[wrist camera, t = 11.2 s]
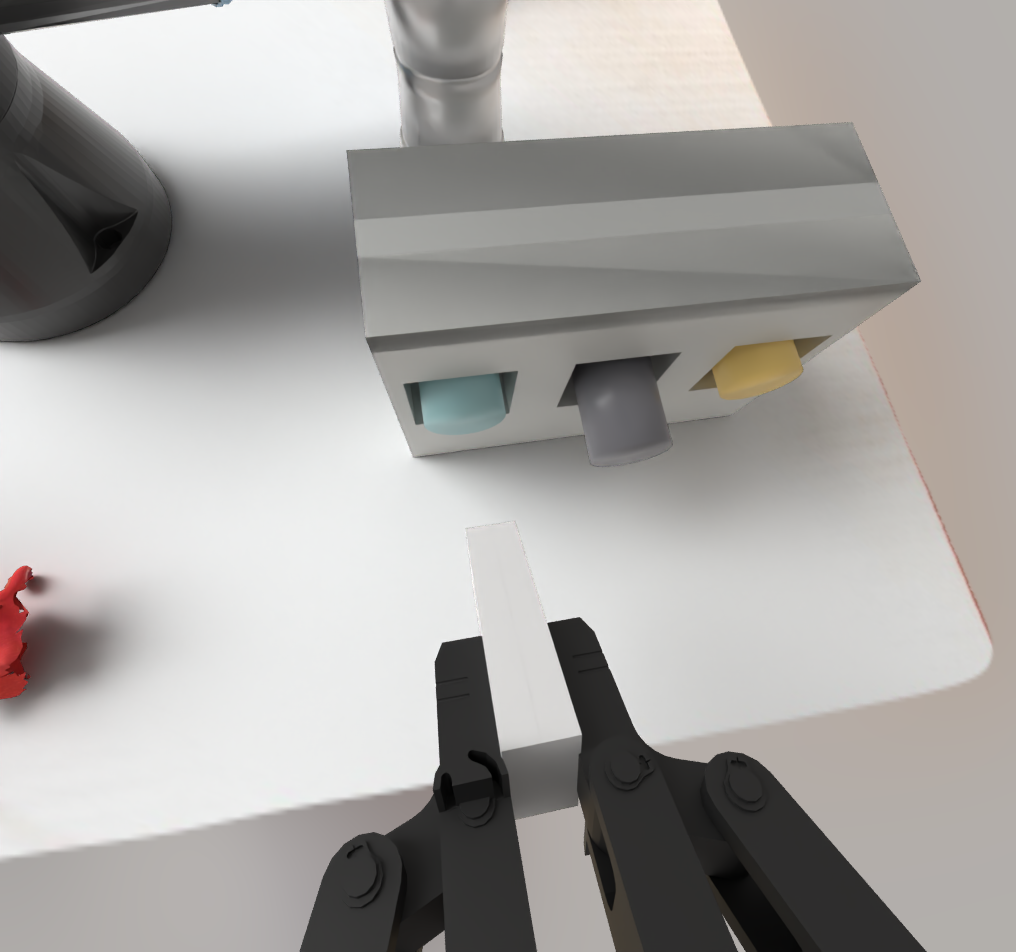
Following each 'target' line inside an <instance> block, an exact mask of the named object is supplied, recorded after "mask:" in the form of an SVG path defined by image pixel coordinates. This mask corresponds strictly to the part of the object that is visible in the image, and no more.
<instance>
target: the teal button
mask: <svg viewBox="0 0 1016 952" xmlns="http://www.w3.org/2000/svg"><path fill="white" fill-rule="evenodd" d="M419 390H420V398H421V406H422V413H423V421H424V426H425V428H426V429H427V430H429V431H431V432H433V433H437V434H443V435H463V434H470V433H475V432H480V431H483V430H486V429H489V428H491V427H493V426H495V425H497V424H499V423H500V422H501V421H502V420H503V419H504V418H505V416H506V411H505V406H504V400H503V394H502V388H501V383H500V377H499V373H494V374H485V375H476V376H467V377H458V378H449V379H441V380H432V381H423V382H419Z"/></svg>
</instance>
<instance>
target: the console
mask: <svg viewBox="0 0 1016 952" xmlns="http://www.w3.org/2000/svg"><path fill="white" fill-rule="evenodd" d="M347 159H348V169H349V178H350V188H351V198H352V208H353V218H354V228H355V238H356V248H357V258H358V268H359V278H360V288H361V298H362V308H363V318H364V328H365V338H366V340H367V343H368V345H369V348H370V350H371V353H372V355H373V358H374V360H375V363H376V365H377V368H378V370H379V373H380V375H381V378H382V380H383V383H384V385H385V388H386V390H387V393H388V395H389V398H390V400H391V403H392V405H393V408H394V410H395V413H396V415H397V418H398V420H399V423H400V425H401V428H402V430H403V433H404V435H405V438H406V440H407V443H408V446H409V448H410V451H411V453H412V456H413V457H418V456H426V455H433V454H441V453H449V452H456V451H464V450H471V449H479V448H487V447H494V446H502V445H509V444H517V443H525V442H532V441H540V440H547V439H555V438H563V437H570V436H578V435H584V431H583V426H582V421H581V417H580V412H579V407H578V403H577V398H576V393H575V389H574V384H573V379H572V375H571V374H572V372H573V370H574V368H575V365H576V364H582V363H591V362H599V361H608V360H617V359H626V358H635V357H644V356H650V359H651V363H652V367H653V370H654V374H655V378H656V382H657V386H658V390H659V393H660V397H661V401H662V405H663V409H664V413H665V416H666V420H667V424H669V423H677V422H684V421H692V420H700V419H707V418H715V417H722V416H730V415H732V414H734V413H735V412H737V411H738V410H740V409H741V408H742V407H744V406H745V405H747V404H748V403H749V402H751V401H752V400H754V399H755V398H757V397H758V396H759V395H757V396H753V397H749V398H744V399H737V400H725V399H722V398H721V397H720V396H719V392H718V389H717V385H716V382H715V378H714V375H713V372H712V368H713V367H714V366H715V365H716V364H717V363H718V362H719V361H720V360H721V359H722V358H723V357H724V356H725V355H726V354H727V353H728V352H730V351H731V350H732V349H733V348H734V347H735V346H741V345H750V344H758V343H767V342H776V341H785V340H793V341H794V343H795V346H796V349H797V352H798V355H799V358H800V361H801V364H802V365H803V364H805V363H806V362H808V361H809V360H810V359H812V358H813V357H815V356H816V355H817V354H819V353H820V352H822V351H823V350H825V349H826V348H827V347H829V346H830V345H832V344H833V343H834V342H836V341H837V340H839V339H840V338H842V337H843V336H844V335H846V334H847V333H849V332H850V331H851V330H853V329H854V328H856V327H857V326H859V325H860V324H861V323H863V322H864V321H866V320H867V319H868V318H870V317H871V316H873V315H874V314H875V313H877V312H878V311H880V310H881V309H883V308H884V307H885V306H887V305H888V304H890V303H891V302H893V301H894V300H895V299H897V298H898V297H900V296H901V295H902V294H904V293H905V292H907V291H908V290H909V289H911V288H912V287H914V286H915V285H917V284H918V283H919V282H921V280H920V278H919V275H918V273H917V271H916V268H915V266H914V264H913V262H912V259H911V257H910V254H909V252H908V250H907V248H906V245H905V243H904V241H903V238H902V236H901V234H900V232H899V229H898V227H897V225H896V222H895V220H894V217H893V215H892V213H891V211H890V208H889V206H888V204H887V201H886V199H885V197H884V195H883V192H882V190H881V187H880V185H879V183H878V180H877V178H876V176H875V173H874V171H873V169H872V167H871V164H870V162H869V160H868V157H867V155H866V153H865V150H864V148H863V146H862V144H861V141H860V139H859V136H858V134H857V132H856V130H855V127H854V125H853V123H852V122H849V123H848V122H847V123H829V124H812V125H795V126H776V127H758V128H740V129H722V130H704V131H686V132H668V133H650V134H632V135H614V136H596V137H578V138H560V139H542V140H524V141H506V142H488V143H470V144H452V145H434V146H417V147H399V148H381V149H363V150H347ZM494 373H499V377H500V383H501V388H502V394H503V400H504V406H505V411H506V416H505V418H504V419H503V420H502V421H501V422H500V423H499V424H497V425H495V426H493V427H491V428H489V429H486V430H483V431H480V432H475V433H470V434H463V435H443V434H437V433H433V432H431V431H429V430H427V429H426V428H425V426H424V421H423V413H422V406H421V398H420V390H419V382H423V381H432V380H441V379H449V378H458V377H467V376H476V375H485V374H494Z"/></svg>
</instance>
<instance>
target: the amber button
mask: <svg viewBox="0 0 1016 952" xmlns="http://www.w3.org/2000/svg"><path fill="white" fill-rule="evenodd" d="M712 372H713V375H714V378H715V382H716V385H717V389H718V392H719V396H720V397H721V398H722V399H725V400H737V399H744V398H749V397H753V396H757V395H761V394H764V393H767V392H770V391H772V390H775V389H777V388H780V387H782V386H784V385H786V384H788V383H790V382H791V381H793V380H795V379H796V378H797V377H799V376H800V375H801V374H802V372H803V367H802V364H801V361H800V358H799V355H798V352H797V349H796V346H795V343H794V341H793V340H785V341H776V342H767V343H758V344H750V345H741V346H735V347H734V348H733V349H732V350H731V351H730V352H728V353H727V354H726V355H725V356H724V357H723V358H722V359H721V360H720V361H719V362H718V363H717V364H716V365H715V366H714V367H713V368H712Z"/></svg>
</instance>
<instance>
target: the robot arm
mask: <svg viewBox="0 0 1016 952" xmlns="http://www.w3.org/2000/svg"><path fill="white" fill-rule="evenodd" d="M231 1H232V0H0V341H31V340H40V339H46V338H51V337H56V336H60V335H64V334H68V333H71V332H74V331H77V330H79V329H82V328H84V327H87V326H89V325H91V324H94V323H96V322H98V321H100V320H101V319H103V318H105V317H107V316H109V315H110V314H112V313H113V312H115V311H117V310H118V309H119V308H121V307H122V306H124V305H125V304H126V303H127V302H129V301H130V300H131V299H132V298H133V297H134V296H135V295H136V294H138V293H139V292H140V291H141V289H142V288H143V287H144V286H145V285H146V284H147V283H148V282H149V280H150V279H151V278H152V276H153V275H154V273H155V272H156V271H157V269H158V267H159V265H160V264H161V262H162V260H163V258H164V255H165V253H166V250H167V247H168V244H169V240H170V235H171V227H172V217H171V209H170V204H169V201H168V197H167V195H166V192H165V190H164V188H163V186H162V185H161V183H160V181H159V180H158V178H157V177H156V176H155V174H154V173H153V172H152V170H151V169H150V168H149V166H148V165H147V164H146V162H145V161H144V160H143V158H142V157H141V156H140V154H139V153H138V152H137V150H136V149H135V148H134V147H133V146H132V145H131V144H130V143H129V141H128V140H127V139H126V138H125V137H124V136H123V135H121V134H120V133H119V132H118V131H117V130H116V129H114V128H113V127H112V126H111V125H109V124H108V123H107V122H106V121H104V120H103V119H102V118H101V117H99V116H98V115H97V114H96V113H94V112H93V111H92V110H91V109H89V108H88V107H87V106H85V105H84V104H83V103H82V102H80V101H79V100H78V99H77V98H75V97H74V96H73V95H72V94H70V93H69V92H68V91H67V90H65V89H64V88H63V87H62V86H60V85H59V84H58V83H57V82H55V81H54V80H53V79H51V78H50V77H49V76H48V75H46V74H45V73H44V72H43V71H41V70H40V69H39V68H38V67H36V66H35V65H34V64H33V63H31V62H30V61H29V60H28V59H26V58H25V57H24V56H23V55H21V54H20V53H19V52H18V51H17V50H16V49H15V48H14V47H13V46H12V44H11V43H10V42H9V41H8V40H7V39H6V37H5V36H4V35H3V34H10V33H16V32H23V31H30V30H37V29H44V28H50V27H57V26H64V25H71V24H78V23H84V22H91V21H98V20H105V19H112V18H119V17H125V16H132V15H139V14H146V13H153V12H160V11H166V10H173V9H180V8H187V7H194V6H201V5H207V4H212V5H213V6H215V7H222V6H223V4H229V3H230V2H231ZM465 529H466V536H467V544H468V552H469V560H470V568H471V576H472V583H473V591H474V598H475V605H476V611H477V618H478V624H479V630H480V636H478V637H472V638H466V639H461V640H455V641H450V642H444V643H442V645H441V647H440V650H439V652H438V655H437V658H436V660H435V678H436V698H437V718H438V737H439V757H440V766H439V768H438V769H437V771H436V773H435V778H434V785H433V792H434V794H433V796H432V798H431V800H430V801H429V803H428V804H427V805H426V806H425V807H424V809H423V810H422V811H421V812H419V813H418V814H417V815H416V816H414V817H413V818H412V819H410V820H409V821H407V822H406V823H404V824H402V825H401V826H399V827H398V828H396V829H394V830H393V831H391V832H389V833H388V834H386V835H385V836H384V835H381V834H378V833H375V832H373V833H367V834H362V835H358V836H357V837H355V838H353V839H352V840H350V841H348V842H347V843H345V844H344V845H343V846H342V847H341V848H340V850H339V851H338V852H337V853H336V854H335V855H334V857H333V858H332V859H331V861H330V863H329V866H328V868H327V870H326V872H325V874H324V876H323V879H322V882H321V885H320V888H319V891H318V895H317V898H316V901H315V904H314V908H313V911H312V914H311V917H310V920H309V924H308V926H307V930H306V933H305V936H304V939H303V942H302V945H301V949H300V952H422V949H423V946H424V945H425V944H426V943H428V942H429V941H431V940H432V939H433V938H434V937H436V936H437V935H439V934H440V933H441V932H443V931H444V930H445V945H446V952H537V950H536V943H535V938H534V932H533V926H532V920H531V914H530V908H529V902H528V896H527V890H526V884H525V878H524V872H523V866H522V860H521V854H520V849H519V842H518V836H517V830H516V825H515V820H516V819H521V818H526V817H530V816H534V815H539V814H543V813H547V812H552V811H556V810H560V809H565V808H569V807H574V806H578V797H579V800H580V803H581V807H582V811H583V814H584V818H585V832H584V850H585V855H590V856H591V859H592V863H593V867H594V871H595V874H596V878H597V882H598V886H599V889H600V893H601V896H602V900H603V904H604V908H605V912H606V915H607V919H608V923H609V927H610V931H611V934H612V938H613V942H614V946H615V949H616V952H738V951H737V948H736V946H735V944H734V941H733V939H732V937H731V934H730V932H729V930H728V927H727V925H726V923H725V920H724V918H725V919H726V921H727V923H728V924H729V926H730V927H731V929H732V931H733V932H734V934H735V935H736V937H737V938H738V940H739V942H740V943H741V945H742V946H743V948H744V950H745V951H746V952H926V951H925V949H924V948H923V947H922V946H921V945H920V944H919V943H918V941H917V940H916V939H915V938H914V937H913V936H912V934H911V933H910V932H909V931H908V930H907V929H906V928H905V926H904V925H903V924H902V923H901V922H900V921H899V920H898V918H897V917H896V916H895V915H894V914H893V913H892V912H891V910H890V909H889V908H888V907H887V906H886V905H885V903H884V902H883V901H882V900H881V899H880V898H879V897H878V895H877V894H876V893H875V892H874V891H873V890H872V888H871V887H869V885H868V884H867V883H866V882H865V880H864V879H863V878H862V877H861V876H860V875H859V874H858V872H857V871H856V870H855V869H854V868H853V867H852V865H851V864H850V863H849V862H848V861H847V860H846V859H845V858H844V856H843V855H842V854H841V853H840V852H839V851H838V849H837V848H836V847H835V846H834V845H833V844H832V843H831V841H830V840H829V839H828V838H827V837H826V836H825V835H824V833H823V832H822V831H821V830H820V829H819V828H818V826H817V825H816V824H815V823H814V822H813V821H812V820H811V818H810V817H809V816H808V815H807V814H806V813H805V812H804V810H803V809H802V808H801V807H800V806H799V805H798V804H797V802H796V801H795V800H794V799H793V798H792V797H791V795H790V794H789V793H788V792H787V791H786V790H785V788H784V787H783V786H782V785H781V784H780V783H779V782H778V781H777V779H776V778H775V777H774V776H773V775H772V774H771V773H770V771H768V770H767V769H766V768H765V767H764V766H763V765H762V764H760V763H759V762H758V761H757V760H755V759H753V758H751V757H749V756H747V755H745V754H742V753H735V752H729V751H728V752H725V753H721V754H717V755H716V756H715V757H714V758H713V759H712V760H711V761H710V762H709V763H701V762H694V761H688V760H681V759H675V758H671V757H667V756H664V755H662V754H660V753H659V752H656V751H655V750H653V749H652V748H651V747H650V746H648V745H647V744H646V743H645V742H644V741H643V740H642V739H641V738H640V736H639V735H638V734H637V732H636V730H635V728H634V726H633V724H632V722H631V719H630V717H629V715H628V712H627V710H626V707H625V705H624V702H623V700H622V698H621V695H620V693H619V690H618V688H617V685H616V683H615V681H614V678H613V676H612V673H611V671H610V669H609V668H608V664H607V661H606V659H605V656H604V654H603V653H602V649H601V647H600V644H599V642H598V640H597V637H596V635H595V632H594V631H593V630H592V629H591V628H590V627H589V626H588V625H587V624H586V623H585V622H584V621H583V620H582V619H581V618H580V617H578V618H572V619H567V620H561V621H555V622H550V623H547V621H546V618H545V615H544V612H543V609H542V605H541V602H540V599H539V596H538V593H537V589H536V586H535V583H534V580H533V577H532V573H531V570H530V567H529V564H528V561H527V557H526V554H525V551H524V548H523V545H522V541H521V538H520V535H519V532H518V529H517V526H516V522H515V521H512V522H505V523H499V524H492V525H485V526H479V527H472V528H465ZM722 915H723V916H724V918H723V916H722Z"/></svg>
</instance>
